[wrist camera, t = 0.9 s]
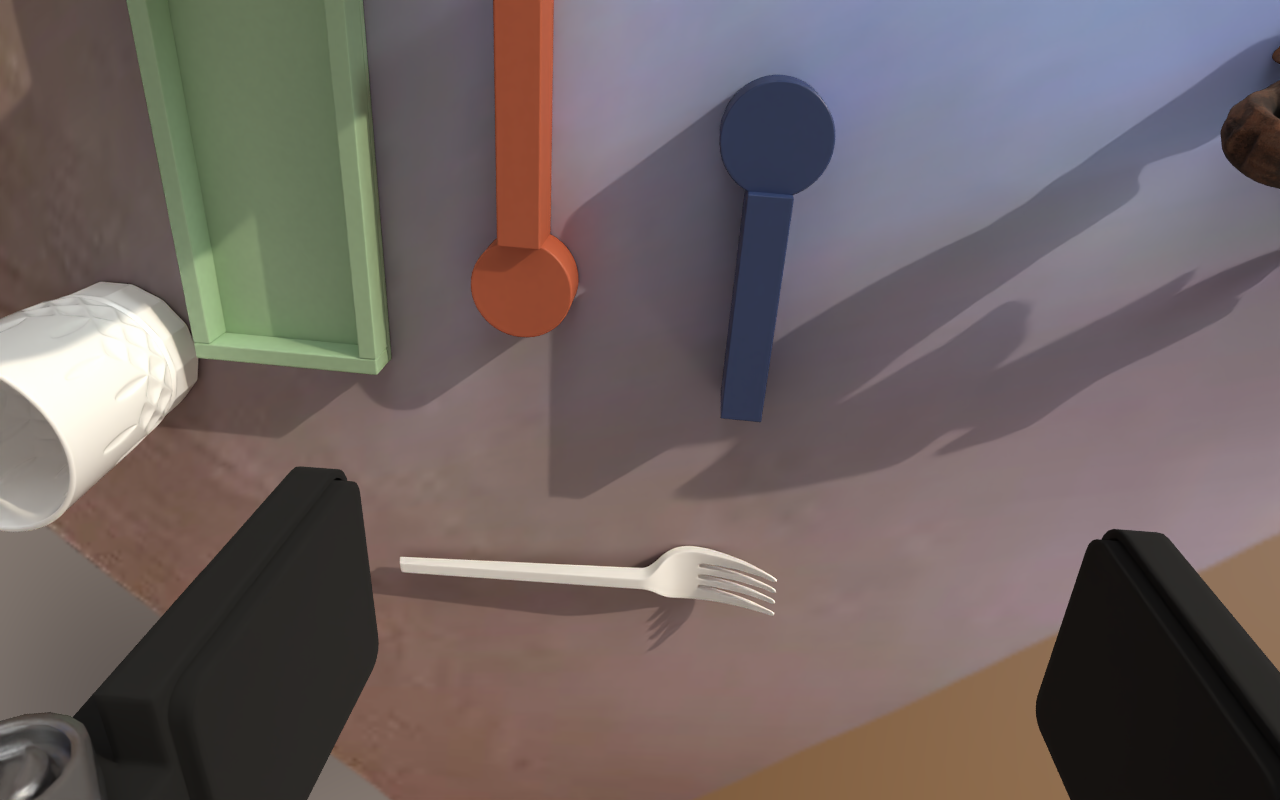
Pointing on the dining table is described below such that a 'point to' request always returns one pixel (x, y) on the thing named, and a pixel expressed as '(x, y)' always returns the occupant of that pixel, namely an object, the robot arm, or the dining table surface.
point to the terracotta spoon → (524, 182)
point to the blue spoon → (766, 218)
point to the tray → (269, 177)
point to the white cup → (83, 393)
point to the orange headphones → (1255, 134)
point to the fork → (624, 575)
